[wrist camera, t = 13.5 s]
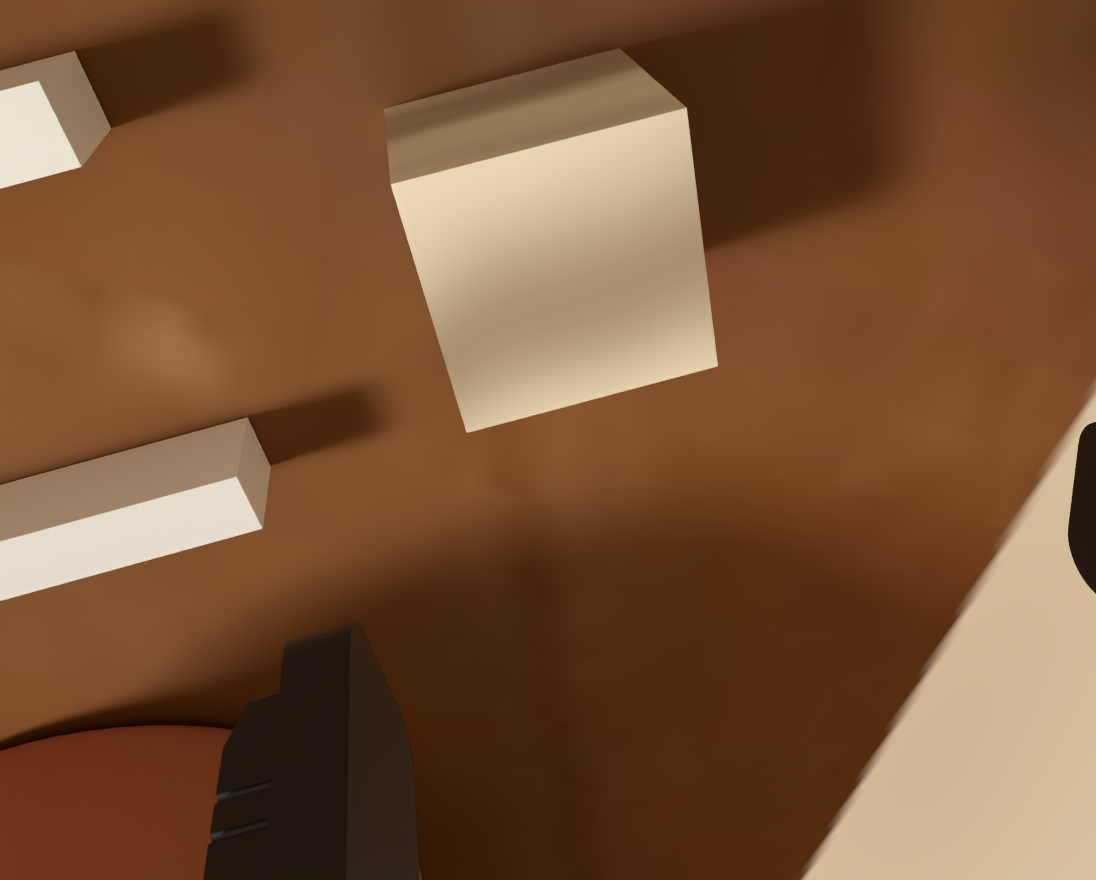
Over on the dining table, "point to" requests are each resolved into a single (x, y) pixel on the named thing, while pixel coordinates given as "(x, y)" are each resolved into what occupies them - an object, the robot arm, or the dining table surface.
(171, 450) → the rail channel
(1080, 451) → the robot arm
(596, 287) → the block
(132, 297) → the dining table surface
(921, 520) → the dining table surface
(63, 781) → the potted cactus
